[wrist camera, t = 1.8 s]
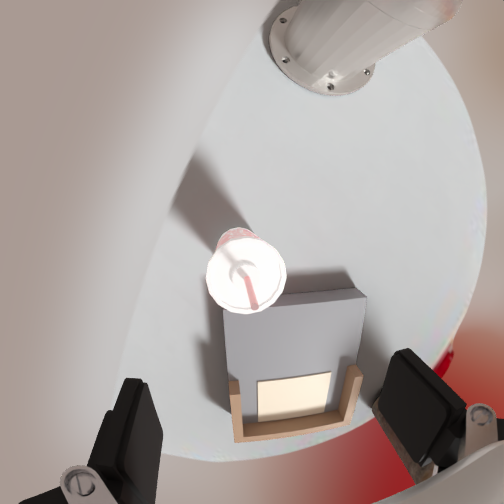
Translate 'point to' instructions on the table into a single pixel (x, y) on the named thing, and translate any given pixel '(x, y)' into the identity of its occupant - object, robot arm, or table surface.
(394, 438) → the brown rough cylinder
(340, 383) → the dock
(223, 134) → the table surface
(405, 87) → the table surface
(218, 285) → the beverage cup
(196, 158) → the table surface
